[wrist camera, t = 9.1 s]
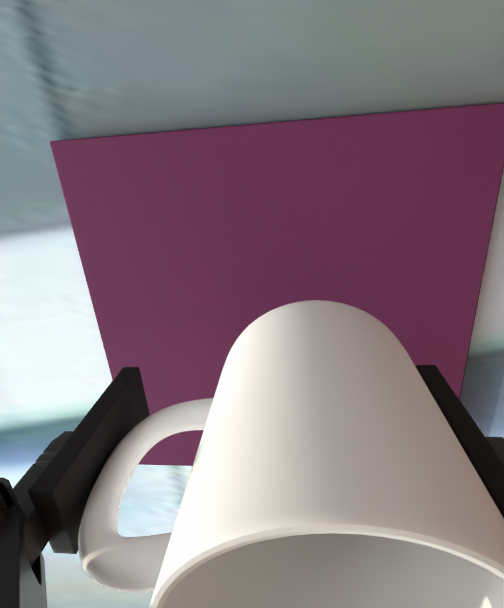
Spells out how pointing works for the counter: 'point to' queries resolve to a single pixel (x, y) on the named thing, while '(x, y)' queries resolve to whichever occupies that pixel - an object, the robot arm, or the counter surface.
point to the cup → (308, 483)
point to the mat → (281, 237)
